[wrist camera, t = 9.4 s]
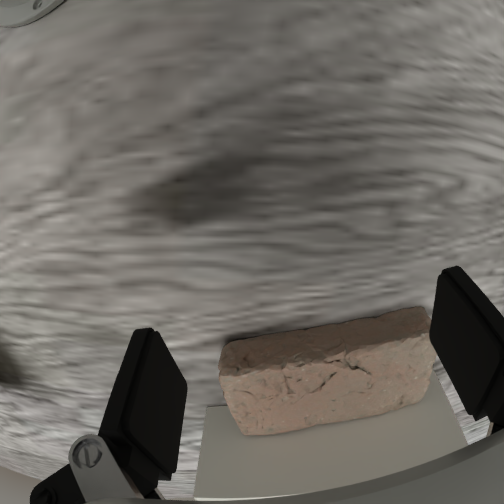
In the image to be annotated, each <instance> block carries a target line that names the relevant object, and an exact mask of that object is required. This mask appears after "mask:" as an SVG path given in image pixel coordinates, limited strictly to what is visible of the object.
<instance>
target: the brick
mask: <svg viewBox="0 0 504 504" xmlns="http://www.w3.org/2000/svg"><path fill="white" fill-rule="evenodd" d="M430 325H431V319H430V317H429V316H428V315H427V313H426V311H425V309H424V308H423V307H413V308H409V309H400V310H397V311H393V312H389V313H386V314H383V315H381V316H379V317H377V318H375V317H373V318H363V319H355V320H353V321H348V322H345V323H342V324H329V325H325V326H320V327H314V328H310V329H308V330H301V329H300V330H294V331H289V332H283V333H275V334H269V335H261V336H258V337H254V338H248V339H245V340H237V341H233V342H230V343H229V344H227V345H226V346H225V347H224V348H223V350H222V352H221V356H220V360H219V365H218V369H219V370H220V373H219V382H220V384H221V388H222V389H223V395H224V397H225V399H226V402H227V405H228V407H229V410H230V412H231V414H232V416H233V417H234V419H235V421H236V423H237V425H238V426H239V428H240V430H241V432H242V433H243V434H244V435H270V434H277V433H284V432H289V431H294V430H300V429H302V428H308V427H311V426H314V425H316V424H318V423H319V424H327V423H333V422H341V421H347V420H352V419H357V418H364V417H370V416H373V415H380V414H383V413H386V412H389V411H390V410H397V409H400V408H402V407H404V406H406V405H413V404H415V403H418V402H419V401H420V400H421V399H422V398H423V397H424V395H425V392H426V391H427V389H428V386H429V384H430V375H431V373H432V366H433V363H434V361H435V358H436V355H437V353H436V351H435V349H434V348H433V346H432V344H431V342H430V339H429V330H430Z"/></svg>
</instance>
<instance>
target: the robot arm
mask: <svg viewBox="0 0 504 504" xmlns="http://www.w3.org/2000/svg"><path fill="white" fill-rule="evenodd" d="M63 1H64V0H0V26H1V27H12V28H14V27H18V26H23V25H26V24H28V23H31V22H33V21H35V20H37V19H39V18H41V17H42V16H44V15H46V14H47V13H49V12H50V11H51V10H53V9H54V8H55V7H57V6H58V5H59V4H61V3H62V2H63ZM429 339H430V342H431V344H432V346H433V348H434V349H435V351H436V353H437V355H438V357H439V358H440V360H441V362H442V364H443V366H444V368H445V370H446V372H447V373H448V375H449V377H450V379H451V381H452V383H453V385H454V387H455V389H456V391H457V393H458V395H459V397H460V399H461V401H462V403H463V405H464V407H465V409H466V411H467V413H468V414H469V415H473V417H474V419H475V421H477V420H479V419H481V418H484V417H486V416H488V418H489V420H490V425H489V429H488V433H487V436H486V438H483V439H481V440H479V441H477V442H475V443H473V444H470V445H468V446H466V447H464V448H461V449H459V450H457V451H454V452H452V453H450V454H447V455H445V456H442V457H440V458H437V459H434V460H432V461H429V462H426V463H424V464H421V465H418V466H415V467H412V468H409V469H406V470H403V471H400V472H396V473H393V474H390V475H386V476H383V477H379V478H376V479H372V480H368V481H364V482H360V483H356V484H352V485H347V486H343V487H338V488H333V489H328V490H322V491H317V492H311V493H304V494H297V495H290V496H282V497H273V498H262V499H249V500H228V501H181V500H180V501H179V500H166V499H165V498H164V497H163V495H162V494H161V493H160V491H159V490H158V489H157V485H158V480H167V481H171V476H172V473H175V472H176V469H177V462H178V454H179V446H180V439H181V431H182V424H183V417H184V410H185V403H186V397H187V383H186V380H185V379H184V377H183V375H182V373H181V372H180V370H179V368H178V366H177V365H176V363H175V361H174V359H173V357H172V356H171V354H170V352H169V350H168V348H167V346H166V344H165V343H164V341H163V339H162V337H161V335H160V333H159V332H158V331H154V329H152V328H143V329H136V330H134V332H133V335H132V337H131V340H130V343H129V345H128V348H127V351H126V353H125V356H124V359H123V362H122V365H121V367H120V370H119V373H118V375H117V378H116V380H115V383H114V386H113V389H112V392H111V395H110V398H109V401H108V404H107V407H106V410H105V414H104V417H103V420H102V423H101V426H100V430H99V433H98V435H94V434H88V435H84V436H82V437H80V438H79V439H77V440H76V441H75V442H74V443H73V445H72V446H71V448H70V451H69V456H68V459H69V464H67V465H66V466H64V467H63V468H61V469H60V470H58V471H57V472H56V473H54V474H53V475H51V476H50V477H48V478H47V479H45V480H43V481H42V482H40V483H39V484H38V485H37V486H35V487H34V489H33V490H32V492H31V495H30V504H504V317H503V316H502V315H501V313H500V312H499V311H498V310H497V308H496V307H495V306H494V305H493V304H492V302H491V301H490V300H489V299H488V298H487V296H486V295H485V294H484V293H483V292H482V291H481V289H480V288H479V287H478V286H477V285H476V284H475V283H474V282H473V280H472V279H471V278H470V277H469V276H468V275H467V274H466V273H465V272H464V270H463V269H462V268H461V267H459V266H454V267H450V268H446V269H444V270H442V273H441V275H439V276H438V280H437V287H436V295H435V301H434V308H433V314H432V320H431V325H430V330H429Z"/></svg>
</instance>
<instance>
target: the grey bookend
mask: <svg viewBox="0 0 504 504" xmlns="http://www.w3.org/2000/svg"><path fill="white" fill-rule="evenodd" d="M466 446H468V443H467V441H466V439H465V436H464V434H463V431H462V429H461V427H460V425H459V422H458V420H457V418H456V416H455V413H454V411H453V409H452V407H451V405H450V402H449V400H448V398H447V396H446V394H445V392H444V390H443V388H442V386H441V384H440V382H439V380H438V377H437V375H436V373H435V371H434V369H433V368H432V373H431V375H430V384H429V386H428V389H427V391H426V392H425V395H424V397H423V398H422V399H421V400H420V401H419V402H418V403H415V404H413V405H406V406H404V407H402V408H400V409H397V410H390V411H389V412H386V413H383V414H380V415H373V416H370V417H364V418H357V419H352V420H347V421H341V422H333V423H327V424H319V423H318V424H316V425H314V426H311V427H308V428H302V429H300V430H294V431H289V432H284V433H277V434H270V435H244V434H243V433H242V432H241V430H240V428H239V426H238V425H237V423H236V421H235V419H234V417H233V416H232V414H231V412H230V410H229V407H228V406H214V407H207V410H206V416H205V423H204V429H203V435H202V442H201V448H200V455H199V461H198V468H197V475H196V482H195V488H194V495H193V498H194V499H196V500H197V501H228V500H249V499H262V498H273V497H282V496H290V495H297V494H304V493H311V492H317V491H322V490H328V489H333V488H338V487H343V486H347V485H352V484H356V483H360V482H364V481H368V480H372V479H376V478H379V477H383V476H386V475H390V474H393V473H396V472H400V471H403V470H406V469H409V468H412V467H415V466H418V465H421V464H424V463H426V462H429V461H432V460H434V459H437V458H440V457H442V456H445V455H447V454H450V453H452V452H454V451H457V450H459V449H461V448H464V447H466Z"/></svg>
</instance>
